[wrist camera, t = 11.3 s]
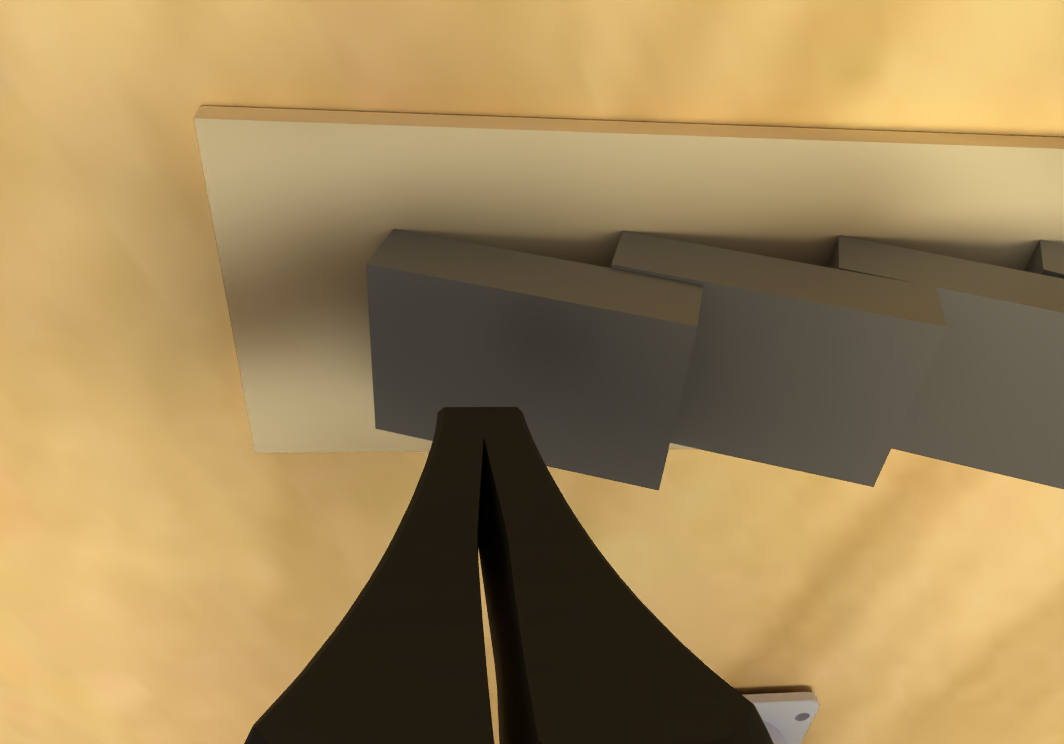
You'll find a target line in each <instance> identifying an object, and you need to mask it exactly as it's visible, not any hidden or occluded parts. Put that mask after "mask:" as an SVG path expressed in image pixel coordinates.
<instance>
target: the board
mask: <svg viewBox="0 0 1064 744" xmlns="http://www.w3.org/2000/svg"><path fill="white" fill-rule="evenodd" d="M194 123H195V128H196V134H197V139H198V145H199V150H200V156H201V161H202V167H203V172H204V178H205V183H206V189H207V194H208V199H209V205H210V210H211V216H212V221H213V227H214V232H215V238H216V243H217V249H218V254H219V260H220V265H221V271H222V276H223V282H224V287H225V292H226V298H227V303H228V309H229V314H230V320H231V325H232V331H233V336H234V342H235V347H236V353H237V358H238V364H239V369H240V375H241V380H242V385H243V391H244V396H245V402H246V407H247V413H248V418H249V424H250V429H251V435H252V440H253V446H254V451H255V453H312V452H424V451H430V449H431V445H432V442H433V441H430V440H425V439H420V438H416V437H411V436H407V435H402V434H397V433H393V432H388V431H384V430H379V429H375V413H374V396H373V379H372V362H371V345H370V328H369V311H368V293H367V276H366V263H367V262H368V260H369V259H370V258H371V256H372V255H373V254H374V253H375V251H376V250H377V249H378V248H379V246H380V245H381V244H382V243H383V241H384V240H385V239H386V238H387V236H388V235H389V234H390V233H391V231H392V230H393V229H398V230H403V231H409V232H414V233H420V234H425V235H431V236H436V237H442V238H447V239H453V240H458V241H464V242H469V243H475V244H480V245H486V246H491V247H497V248H502V249H508V250H513V251H519V252H524V253H530V254H535V255H541V256H546V257H552V258H557V259H563V260H568V261H574V262H579V263H585V264H590V265H596V266H601V267H607V268H611V264H612V261H613V258H614V255H615V252H616V249H617V246H618V244H619V241H620V238H621V235H622V232H623V231H629V232H634V233H640V234H646V235H651V236H657V237H662V238H668V239H673V240H679V241H684V242H690V243H696V244H701V245H707V246H712V247H718V248H723V249H729V250H734V251H740V252H746V253H751V254H757V255H762V256H768V257H773V258H779V259H784V260H790V261H796V262H801V263H807V264H812V265H818V266H823V267H828V266H829V263H830V260H831V257H832V254H833V251H834V248H835V245H836V242H837V239H838V236H839V235H841V236H846V237H851V238H856V239H862V240H867V241H872V242H877V243H882V244H887V245H892V246H898V247H903V248H908V249H913V250H918V251H923V252H928V253H934V254H939V255H944V256H949V257H954V258H959V259H964V260H970V261H975V262H980V263H985V264H990V265H995V266H1000V267H1006V268H1011V269H1016V270H1021V271H1024V270H1025V268H1026V266H1027V264H1028V262H1029V260H1030V258H1031V256H1032V254H1033V252H1034V250H1035V248H1036V246H1037V244H1038V242H1039V241H1040V240H1044V241H1049V242H1053V243H1057V244H1061V245H1064V137H1037V136H1010V135H983V134H956V133H929V132H902V131H874V130H847V129H820V128H793V127H766V126H739V125H711V124H684V123H657V122H630V121H603V120H575V119H548V118H521V117H494V116H467V115H440V114H412V113H385V112H358V111H331V110H304V109H277V108H249V107H222V106H201V107H200V109H199V110H198V112H197V114H196V115H195V117H194ZM669 449H696V448H692V447H687V446H682V445H678V444H673V443H670V445H669Z"/></svg>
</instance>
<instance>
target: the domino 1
mask: <svg viewBox="0 0 1064 744" xmlns="http://www.w3.org/2000/svg"><path fill="white" fill-rule="evenodd" d="M366 276H367V293H368V311H369V328H370V345H371V362H372V379H373V396H374V413H375V429H379V430H384V431H388V432H393V433H397V434H402V435H407V436H411V437H416V438H420V439H425V440H430V441H433V438H434V433H435V428H436V423H437V412H439V411H440V410H441V409H442V408H444V407H518V408H519V409H520V410H521V411H522V412H523V414H524V418H525V421H526V423H527V426H528V428H529V431H530V433H531V436H532V438H533V440H534V442H535V445H536V447H537V449H538V451H539V453H540V455H541V457H542V459H543V461H544V463H545V465H546V466H549V467H554V468H558V469H563V470H568V471H572V472H577V473H581V474H586V475H591V476H595V477H600V478H604V479H609V480H614V481H618V482H623V483H627V484H632V485H637V486H641V487H646V488H650V489H655V490H659V487H660V483H661V478H662V474H663V470H664V466H665V462H666V457H667V453H668V449H669V445H670V440H671V436H672V432H673V428H674V423H675V419H676V415H677V411H678V407H679V402H680V398H681V394H682V390H683V385H684V381H685V377H686V373H687V368H688V364H689V360H690V356H691V352H692V347H693V343H694V339H695V335H696V330H697V326H698V319H699V311H700V304H701V297H702V289H703V285H700V284H695V283H689V282H684V281H678V280H673V279H667V278H662V277H656V276H651V275H645V274H640V273H634V272H629V271H623V270H618V269H612V268H607V267H601V266H596V265H590V264H585V263H579V262H574V261H568V260H563V259H557V258H552V257H546V256H541V255H535V254H530V253H524V252H519V251H513V250H508V249H502V248H497V247H491V246H486V245H480V244H475V243H469V242H464V241H458V240H453V239H447V238H442V237H436V236H431V235H425V234H420V233H414V232H409V231H403V230H398V229H393V230H392V231H391V233H390V234H389V235H388V236H387V238H386V239H385V240H384V241H383V243H382V244H381V245H380V246H379V248H378V249H377V250H376V251H375V253H374V254H373V255H372V256H371V258H370V259H369V260H368V262H367V263H366Z"/></svg>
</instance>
